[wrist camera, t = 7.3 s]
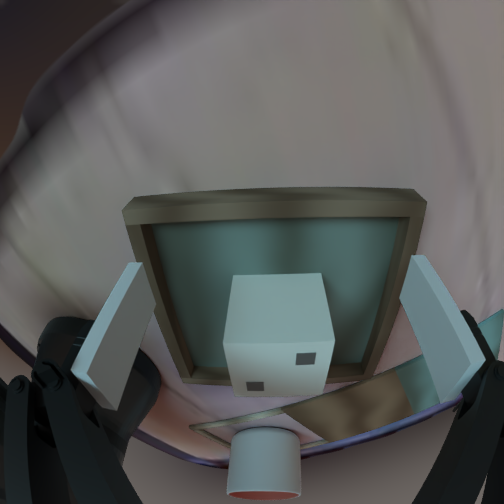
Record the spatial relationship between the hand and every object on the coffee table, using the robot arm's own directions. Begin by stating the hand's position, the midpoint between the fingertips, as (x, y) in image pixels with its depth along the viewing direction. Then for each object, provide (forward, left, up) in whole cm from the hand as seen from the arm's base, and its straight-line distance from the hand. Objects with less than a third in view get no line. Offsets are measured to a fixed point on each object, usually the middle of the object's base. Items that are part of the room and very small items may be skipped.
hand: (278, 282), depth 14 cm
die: (0, -7, -5) cm, 8 cm away
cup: (-2, -35, -6) cm, 35 cm away
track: (+10, -28, -6) cm, 30 cm away
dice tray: (0, -7, -6) cm, 9 cm away
